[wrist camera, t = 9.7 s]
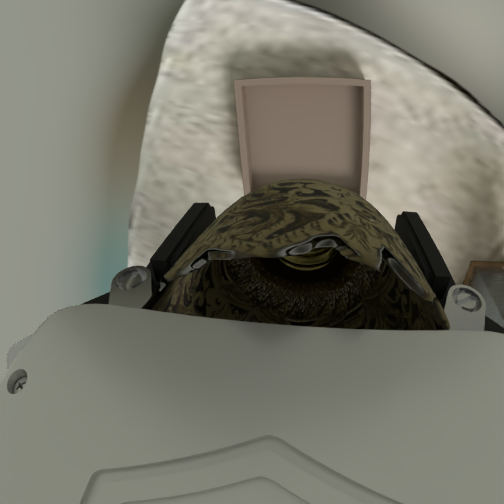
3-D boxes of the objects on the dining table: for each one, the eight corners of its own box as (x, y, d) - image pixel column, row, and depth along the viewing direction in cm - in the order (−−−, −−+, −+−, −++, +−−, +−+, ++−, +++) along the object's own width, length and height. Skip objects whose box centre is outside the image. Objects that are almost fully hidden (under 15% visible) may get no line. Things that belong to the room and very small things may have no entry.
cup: (307, 310, 15) (290, 457, 9) (191, 223, 14) (100, 362, 7) (423, 222, 11) (492, 381, 5) (300, 96, 10) (275, 146, 3)
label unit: (438, 338, 36) (455, 414, 26) (471, 260, 29) (513, 342, 18) (470, 336, 35) (491, 407, 25) (505, 262, 27) (549, 336, 17)
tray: (249, 190, 30) (244, 200, 28) (240, 79, 24) (233, 80, 22) (361, 193, 28) (365, 204, 26) (365, 79, 22) (370, 80, 20)
